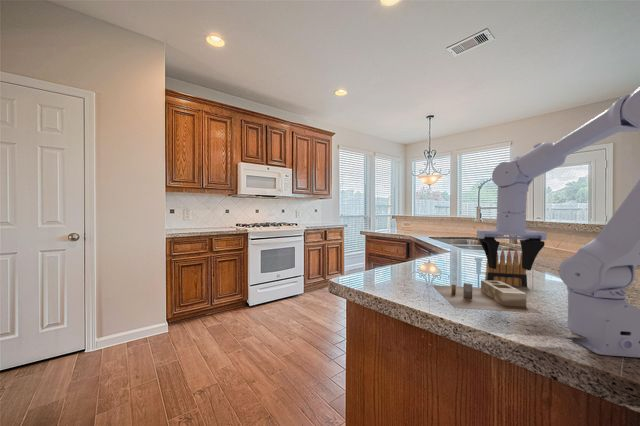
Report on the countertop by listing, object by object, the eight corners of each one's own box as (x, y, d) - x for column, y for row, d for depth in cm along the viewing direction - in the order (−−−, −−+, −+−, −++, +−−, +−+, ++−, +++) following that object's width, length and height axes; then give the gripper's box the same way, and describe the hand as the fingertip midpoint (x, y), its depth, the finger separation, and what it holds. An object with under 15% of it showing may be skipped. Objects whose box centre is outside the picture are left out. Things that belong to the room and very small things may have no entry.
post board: (541, 319, 57) (542, 296, 57) (454, 314, 59) (454, 292, 59) (497, 293, 75) (497, 276, 75) (431, 290, 77) (432, 273, 77)
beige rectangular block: (526, 306, 60) (526, 293, 60) (503, 305, 61) (503, 292, 61) (500, 291, 71) (500, 281, 71) (480, 290, 72) (481, 280, 72)
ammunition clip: (486, 289, 79) (487, 249, 79) (484, 287, 81) (485, 249, 81) (527, 292, 76) (528, 251, 76) (524, 290, 78) (524, 250, 78)
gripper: (533, 213, 65) (531, 266, 66) (471, 212, 68) (470, 263, 68) (554, 213, 59) (551, 273, 59) (484, 212, 61) (483, 270, 61)
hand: (509, 268), depth 63 cm, fingers open, 7 cm apart
